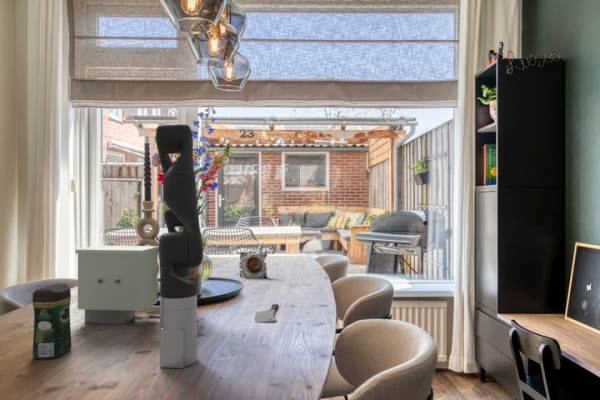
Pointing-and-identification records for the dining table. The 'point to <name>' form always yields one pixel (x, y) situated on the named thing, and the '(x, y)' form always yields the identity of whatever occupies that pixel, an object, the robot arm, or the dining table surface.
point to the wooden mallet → (153, 310)
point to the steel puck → (141, 319)
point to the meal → (253, 265)
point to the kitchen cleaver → (266, 315)
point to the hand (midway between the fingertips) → (179, 310)
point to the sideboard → (116, 282)
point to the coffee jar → (51, 321)
